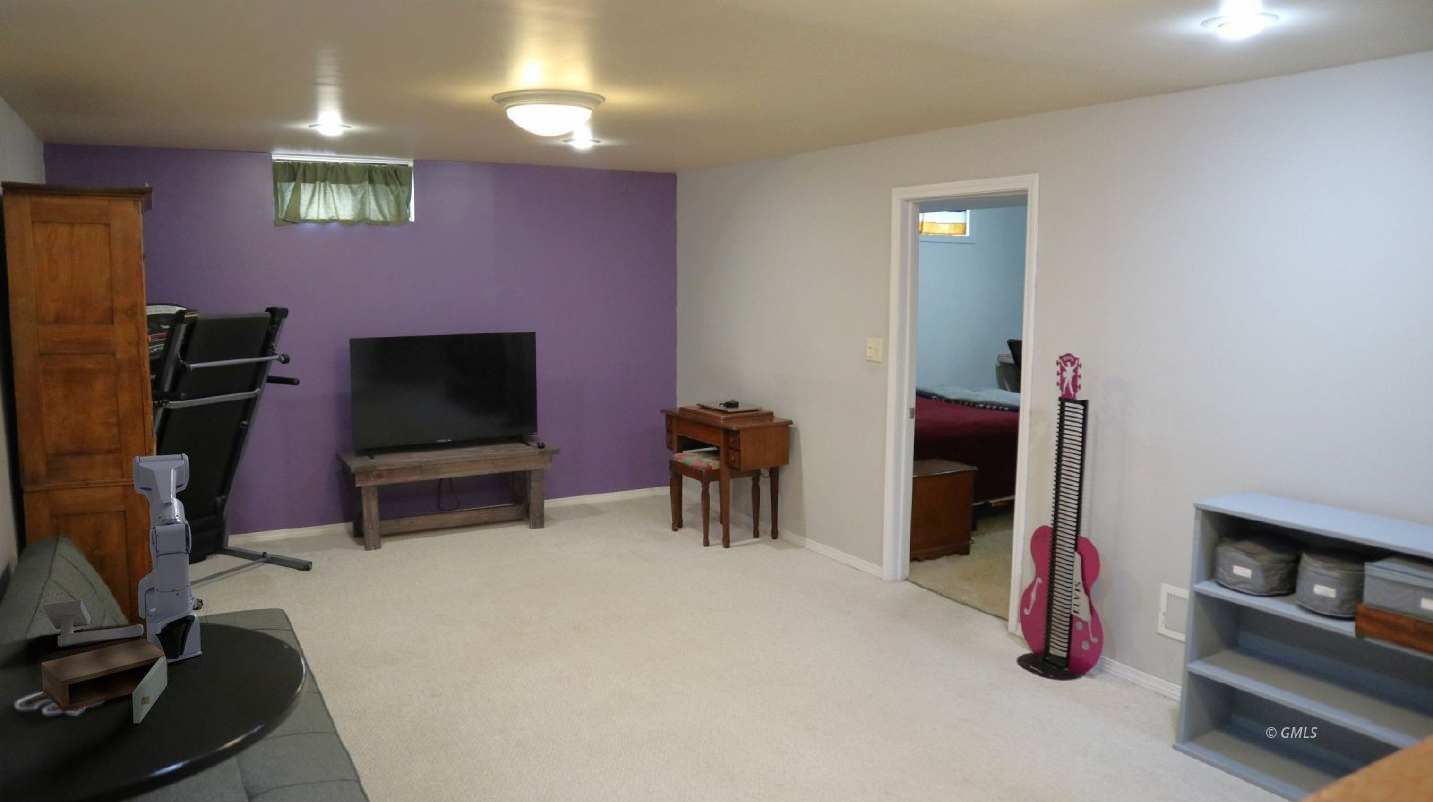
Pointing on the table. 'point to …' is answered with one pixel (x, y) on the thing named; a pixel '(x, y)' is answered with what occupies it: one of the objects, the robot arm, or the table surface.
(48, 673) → the walnut cabinet
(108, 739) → the table surface
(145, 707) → the cabinet door
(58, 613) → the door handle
